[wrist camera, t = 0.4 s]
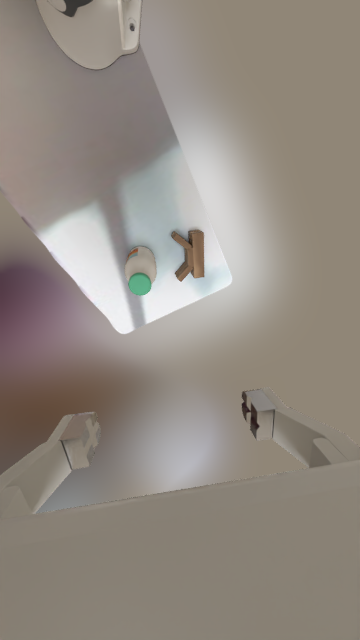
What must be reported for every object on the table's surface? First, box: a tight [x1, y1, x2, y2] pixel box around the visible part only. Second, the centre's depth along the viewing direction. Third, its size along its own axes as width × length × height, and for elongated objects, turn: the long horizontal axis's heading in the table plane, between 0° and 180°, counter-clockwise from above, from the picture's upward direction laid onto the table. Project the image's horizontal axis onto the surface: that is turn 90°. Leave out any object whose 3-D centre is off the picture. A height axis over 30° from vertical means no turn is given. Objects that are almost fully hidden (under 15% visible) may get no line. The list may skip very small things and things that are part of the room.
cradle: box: [171, 230, 204, 281], centre depth 52 cm, size 8×13×5 cm, turn 5°
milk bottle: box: [125, 246, 157, 295], centre depth 45 cm, size 8×8×20 cm
